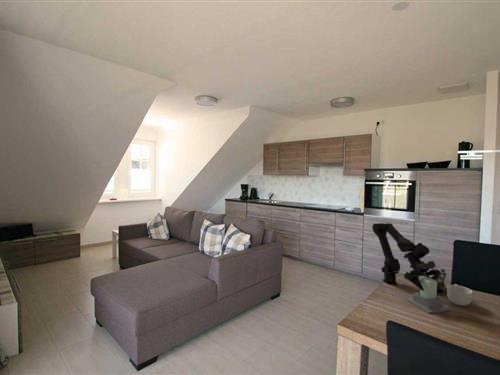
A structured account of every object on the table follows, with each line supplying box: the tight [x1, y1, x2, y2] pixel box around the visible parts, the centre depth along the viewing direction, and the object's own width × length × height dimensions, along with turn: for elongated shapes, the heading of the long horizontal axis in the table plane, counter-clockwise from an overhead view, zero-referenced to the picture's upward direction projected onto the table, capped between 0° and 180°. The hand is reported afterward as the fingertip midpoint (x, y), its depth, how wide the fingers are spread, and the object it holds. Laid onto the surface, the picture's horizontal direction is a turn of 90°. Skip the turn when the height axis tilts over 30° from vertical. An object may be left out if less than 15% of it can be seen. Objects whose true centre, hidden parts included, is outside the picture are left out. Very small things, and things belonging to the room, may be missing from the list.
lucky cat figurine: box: [419, 268, 447, 292], centre depth 161 cm, size 15×12×14 cm
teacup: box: [446, 283, 473, 307], centre depth 144 cm, size 14×11×8 cm
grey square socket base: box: [405, 291, 452, 315], centre depth 140 cm, size 14×14×5 cm
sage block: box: [419, 277, 438, 300], centre depth 140 cm, size 5×5×13 cm
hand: (430, 289), depth 138 cm, fingers open, 9 cm apart
